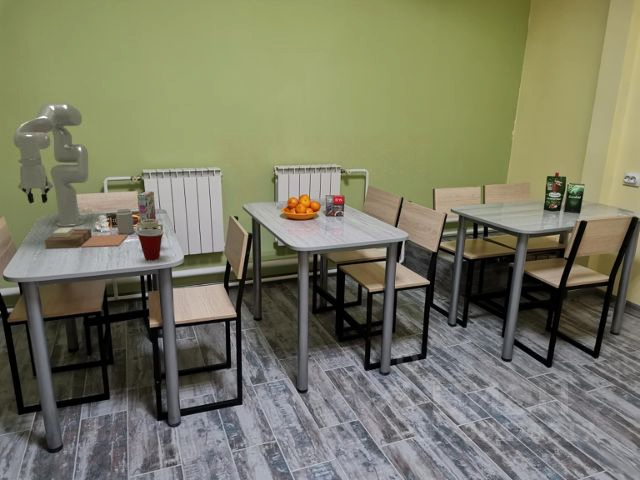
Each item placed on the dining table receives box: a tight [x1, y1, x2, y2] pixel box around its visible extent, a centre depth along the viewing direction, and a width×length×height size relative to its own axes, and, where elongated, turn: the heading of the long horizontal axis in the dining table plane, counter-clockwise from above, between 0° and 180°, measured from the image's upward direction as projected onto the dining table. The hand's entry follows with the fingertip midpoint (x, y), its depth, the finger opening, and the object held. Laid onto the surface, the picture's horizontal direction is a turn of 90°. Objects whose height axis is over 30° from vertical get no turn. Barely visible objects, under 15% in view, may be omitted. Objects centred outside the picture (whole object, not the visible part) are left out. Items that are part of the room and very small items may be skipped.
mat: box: [80, 234, 129, 248], centre depth 226 cm, size 18×16×1 cm
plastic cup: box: [136, 229, 165, 261], centre depth 201 cm, size 11×11×12 cm
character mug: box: [136, 218, 164, 232], centre depth 213 cm, size 11×7×13 cm, turn 111°
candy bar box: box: [137, 191, 157, 226], centre depth 259 cm, size 11×5×16 cm, turn 178°
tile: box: [52, 227, 75, 237], centre depth 222 cm, size 9×6×2 cm, turn 8°
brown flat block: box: [44, 228, 93, 249], centre depth 224 cm, size 18×14×4 cm
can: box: [115, 208, 135, 235], centre depth 239 cm, size 8×8×12 cm
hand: (38, 202), depth 217 cm, fingers open, 4 cm apart
